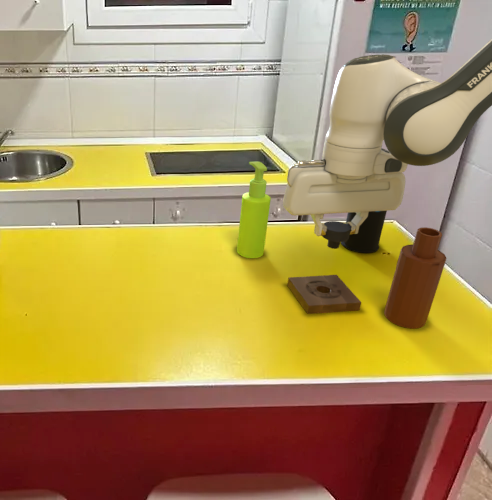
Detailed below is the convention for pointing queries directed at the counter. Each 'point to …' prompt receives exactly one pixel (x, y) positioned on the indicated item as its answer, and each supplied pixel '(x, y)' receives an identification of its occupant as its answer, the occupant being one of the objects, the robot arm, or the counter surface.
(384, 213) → the aerosol can
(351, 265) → the counter surface
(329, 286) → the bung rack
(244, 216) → the soap dispenser
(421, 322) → the bottle
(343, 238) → the cylinder
